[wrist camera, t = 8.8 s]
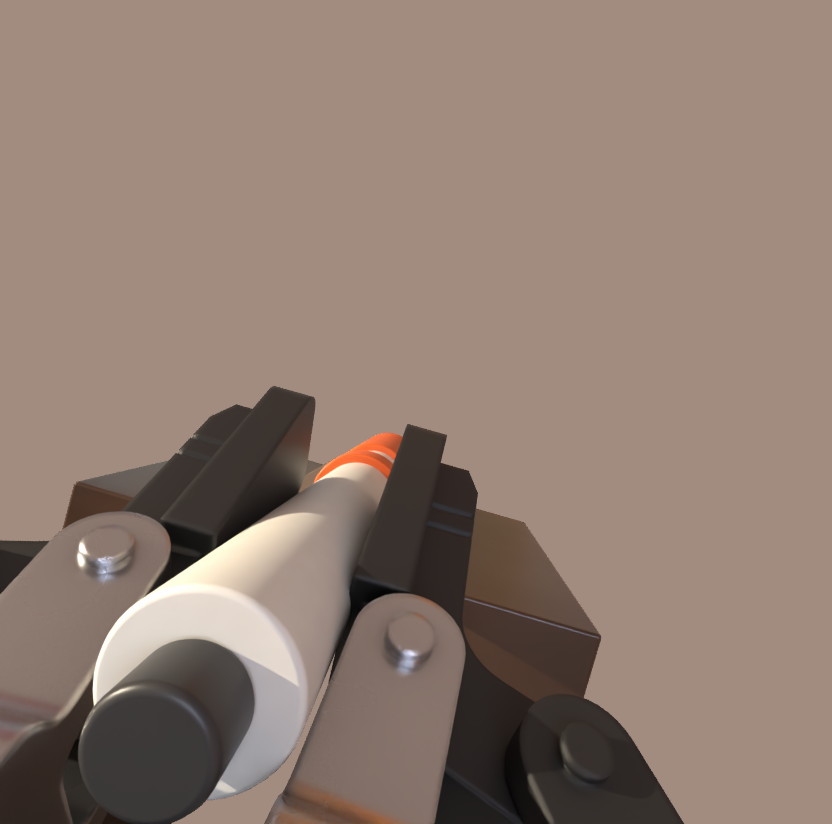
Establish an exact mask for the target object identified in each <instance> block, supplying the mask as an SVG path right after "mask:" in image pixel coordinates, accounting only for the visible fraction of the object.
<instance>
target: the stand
mask: <svg viewBox="0 0 832 824" xmlns="http://www.w3.org/2000/svg"><path fill="white" fill-rule="evenodd" d="M335 459H336V458H335ZM333 460H334V459H333ZM331 461H332V460H331ZM331 461H329V462H331ZM167 462H168V461H165V462H161V463H157V464H152V465H148V466H144V467H139V468H135V469H131V470H126V471H122V472H118V473H113V474H109V475H104V476H100V477H96V478H92V479H87V480H83V481H78V482H76V483H75V484H74V487H73V491H72V495H71V498H70V502H69V506H68V510H67V514H66V518H65V522H64V525H63V529H64V528H66V527H67V526H69V525H70V524H72V523H74V522H76V521H78V520H81V519H83V518H86V517H88V516H92V515H96V514H100V513H106V512H117V511H122V509H123V508H124V507H125V506H126V505H127V504H128V503H129V502H130V501H131V500H132V499H133V498H134V497H135V496H136V495H137V494H138V493H139V492H140V490H141V489H142V488H143V487H144V486H145V485H146V484H147V483H148V482H149V481H150V480H151V479H152V478H153V477H154V476H155V475H156V474H157V473H158V471H159V470H160V469H161V468H162V467H163V466H164V465H165V464H166V463H167ZM329 462H328V463H329ZM328 463H326V464H324V465H322V464H319V463H315V462H312V461H309V460H308V461H307V467H306V472H305V476H304V479H303V482H302V485H301V488H300V490H299V493H300V492H301V491H303V490H304V489H306V488H307V487H309V486H310V485H312V484H313V483H314V480H315V478H316V477H317V475H318V474H319V472H320V471H321V470H322V469H323V467H324V466H326V465H327V464H328ZM63 529H62V530H63ZM471 539H472V543H471V551H470V558H469V566H468V574H467V582H466V590H465V598H464V605H463V616H462V621H463V629H464V632H465V636H466V639H467V641H468V643H469V645H470V647H471V649H472V651H473V652H474V654H475V655H476V657H477V658H478V659H479V660H480V662H481V663H482V664H483V665H484V666H485V667H486V668H487V669H488V670H489V671H490V672H491V673H492V674H494V675H495V676H496V677H498V678H499V679H500V680H502V681H503V682H505V683H506V684H508V685H510V686H511V687H513V688H514V689H516V690H517V691H519V692H520V693H522V694H523V695H525V696H526V697H528V698H529V699H531V700H533V701H534V702H537V701H538V700H540V699H541V698H543V697H546V696H549V695H553V694H570V695H575V696H579V697H582V698H584V694H585V691H586V688H587V684H588V681H589V678H590V674H591V671H592V668H593V664H594V661H595V658H596V654H597V651H598V647H599V644H600V641H601V635H600V634H599V632H598V631H597V629H596V628H595V626H594V625H593V623H592V622H591V621H590V619H589V618H588V616H587V615H586V613H585V612H584V610H583V609H582V607H581V606H580V604H579V603H578V601H577V600H576V598H575V597H574V596H573V594H572V592H571V591H570V589H569V588H568V587H567V585H566V584H565V582H564V581H563V579H562V578H561V576H560V575H559V573H558V572H557V570H556V569H555V567H554V566H553V564H552V563H551V561H550V560H549V558H548V557H547V555H546V554H545V552H544V551H543V550H542V548H541V547H540V545H539V544H538V542H537V541H536V539H535V538H534V536H533V535H532V533H531V532H530V530H529V529H528V527H527V526H526V524H525V523H524V522H521V521H517V520H514V519H510V518H507V517H503V516H500V515H497V514H493V513H489V512H486V511H482V510H479V509H476V512H475V517H474V527H473V535H472V538H471ZM102 824H131V823H127V822H125V821H122V820H120V819H118V818H116V817H114V816H113V815H111V814H110V813H107V814H106V816H105V818H104V820H103V822H102ZM169 824H171V823H169Z"/></svg>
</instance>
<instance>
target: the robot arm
mask: <svg viewBox="0 0 832 824" xmlns="http://www.w3.org/2000/svg"><path fill="white" fill-rule="evenodd" d="M314 412H315V399H314V397H311V396H308V395H304V394H301V393H297V392H294V391H290V390H287V389H283V388H280V387H276V386H273V387H271V388H270V389H269V390H268V391H267V393H266V394H265V395H264V396H263V397H262V399H261V400H260V401H259V402H258V403H257V404H256V406H255V407H254V408H253V409H250V408H247V407H243V406H240V405H234V406H232V407H230V408H228V409H226V410H223V411H221V412H220V413H217V414H215V415H213V416H211V417H210V418H209V419H208V420H207V421H206V422H205V423H204V424H203V425H202V426H201V427H200V428H199V429H198V430H197V431H196V433H194V436H193V438H190V439H189V440H188V441H187V442H186V443H185V444H184V445H183V446H182V447H181V448H180V449H179V453H178V454H177V453H176V454H175V455H174V456H173V457H172V458H171V459H170V460H169V461H168V462H167V463H166V464H165V465H164V466H163V467H162V468H161V469H160V470H159V471H158V473H157V474H156V475H155V476H154V477H153V478H152V479H151V480H150V481H149V482H148V483H147V484H146V485H145V486H144V487H143V488H142V489H141V490H140V492H139V493H138V494H137V495H136V496H135V497H134V498H133V499H132V500H131V501H130V502H129V503H128V504H127V505H126V506H125V507H124V508H123V509H122V511H117V512H106V513H100V514H96V515H92V516H88V517H86V518H83V519H81V520H78V521H76V522H74V523H72V524H70V525H69V526H67V527H66V528H64V529H63V530H61V531H60V532H59V533H58V534H57V535H55V536H54V537H53V538H52V539H51V540H50V541H0V824H102V822H103V820H104V818H105V816H106V814H107V813H108V812H107V811H106V810H104V809H103V808H102V807H101V806H100V805H99V804H98V803H97V802H96V801H95V799H94V798H93V797H92V796H91V794H90V793H89V791H88V789H87V788H86V785H85V783H84V781H83V779H82V775H81V772H80V768H79V762H78V746H79V740H80V735H81V733H82V730H83V727H84V724H85V721H86V719H87V717H88V715H89V713H90V711H91V710H92V708H93V707H94V701H93V680H94V672H95V667H96V663H97V660H98V657H99V654H100V651H101V648H102V645H103V643H104V641H105V639H106V637H107V635H108V633H109V632H110V630H111V629H112V628H113V626H114V625H115V623H116V622H117V621H118V619H119V618H120V617H121V616H122V615H123V614H124V613H125V612H126V611H127V610H128V609H129V608H130V607H132V606H133V605H134V604H135V603H136V602H138V601H139V600H141V599H142V598H144V597H145V596H147V595H148V594H150V593H151V592H153V591H154V590H156V589H157V588H159V587H160V586H162V585H163V584H165V583H166V582H168V581H169V580H171V579H172V578H173V577H175V576H176V575H178V574H179V573H181V572H182V571H184V570H185V569H187V568H188V567H190V566H191V565H193V564H194V563H196V562H197V561H199V560H200V559H202V558H203V557H205V556H206V555H208V554H209V553H211V552H212V551H214V550H215V549H217V548H218V547H220V546H221V545H223V544H224V543H226V542H227V541H228V540H230V539H231V538H233V537H234V536H236V535H237V534H239V533H240V532H242V531H243V530H245V529H246V528H248V527H249V526H251V525H252V524H254V523H255V522H257V521H258V520H260V519H261V518H263V517H264V516H266V515H267V514H269V513H270V512H272V511H273V510H275V509H276V508H278V507H279V506H281V505H282V504H284V503H285V502H286V501H288V500H289V499H291V498H292V497H294V496H295V495H297V494H298V493H299V490H300V488H301V485H302V482H303V479H304V476H305V472H306V467H307V461H308V454H309V447H310V440H311V433H312V426H313V419H314ZM446 437H447V435H445V434H441V433H438V432H434V431H431V430H427V429H423V428H420V427H417V426H413V425H410V424H408V425H407V427H406V430H405V432H404V435H403V438H402V441H401V443H400V446H399V449H398V452H397V454H396V457H395V460H394V463H393V466H392V468H391V471H390V474H389V477H388V480H387V482H386V485H385V488H384V491H383V494H382V496H381V499H380V502H379V505H378V508H377V510H376V513H375V516H374V519H373V521H372V524H371V527H370V530H369V533H368V535H367V538H366V541H365V544H364V547H363V549H362V552H361V555H360V558H359V561H358V563H357V566H356V569H355V572H354V575H353V578H352V583H351V587H350V591H349V595H350V601H351V611H350V617H349V620H348V623H347V625H346V628H345V630H344V632H343V635H342V637H341V640H340V642H339V644H338V647H337V649H336V652H335V657H334V661H333V665H332V670H331V674H330V679H329V685H328V687H327V689H326V692H325V695H324V697H323V699H322V702H321V704H320V707H319V709H318V711H317V714H316V716H315V719H314V721H313V724H312V726H311V728H310V731H309V733H308V736H307V738H306V741H305V744H304V746H303V748H302V750H301V753H300V755H299V758H298V760H297V763H296V765H295V768H294V770H293V772H292V775H291V777H290V779H289V781H288V783H287V786H286V787H285V790H284V791H283V793H281V794H280V795H279V796H278V798H277V799H276V801H275V803H274V805H273V807H272V809H271V811H270V813H269V815H268V817H267V819H266V821H265V823H264V824H684V823H683V821H682V820H681V818H680V816H679V815H678V813H677V812H676V810H675V808H674V807H673V805H672V803H671V802H670V800H669V798H668V797H667V795H666V794H665V792H664V790H663V789H662V787H661V785H660V784H659V782H658V781H657V779H656V777H655V776H654V774H653V772H652V771H651V769H650V768H649V766H648V764H647V763H646V761H645V760H644V758H643V756H642V755H641V753H640V751H639V750H638V748H637V746H636V745H635V743H634V742H633V740H632V739H631V737H630V736H629V735H628V733H627V732H626V730H625V729H624V728H623V727H622V726H621V724H620V723H619V722H618V721H617V720H616V719H615V718H614V717H613V716H611V715H610V714H609V713H608V712H607V711H605V710H604V709H603V708H601V707H600V706H598V705H597V704H595V703H593V702H591V701H589V700H587V699H584V698H582V697H579V696H575V695H570V694H553V695H549V696H546V697H543V698H541V699H540V700H538V701H537V702H534V701H533V700H531V699H529V698H528V697H526V696H525V695H523V694H522V693H520V692H519V691H517V690H516V689H514V688H513V687H511V686H510V685H508V684H506V683H505V682H503V681H502V680H500V679H499V678H498V677H496V676H495V675H494V674H492V673H491V672H490V671H489V670H488V669H487V668H486V667H485V666H484V665H483V664H482V663H481V662H480V660H479V659H478V658H477V657H476V655H475V654H474V652H473V651H472V649H471V647H470V645H469V643H468V641H467V639H466V636H465V632H464V629H463V621H462V616H463V605H464V598H465V590H466V582H467V574H468V566H469V558H470V551H471V543H472V539H471V538H472V535H473V527H474V517H475V512H476V503H477V496H478V492H477V490H476V488H475V485H474V483H473V480H472V478H471V476H470V473H469V471H467V470H464V469H460V468H456V467H453V466H450V465H446V464H443V463H441V459H442V454H443V450H444V446H445V442H446Z"/></svg>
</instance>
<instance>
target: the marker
mask: <svg viewBox="0 0 832 824" xmlns="http://www.w3.org/2000/svg"><path fill="white" fill-rule="evenodd" d="M402 438H403V437H401V436H400V435H397V434H393V433H382V434H379V435H376V436H374V437H372V438H370V439H369V440H367V441H365V442H363V443H362V444H360V445H358V446H356V447H355V448H353V449H352V450H350V451H349V452H347V453H346V454H343V455H341V456H339V457H337V458H336V459H334V460H332V461H331V462H329V463H328V464H327V465H326V466H324V467H323V469H322V470H321V471H320V472H319V474H318V475H317V477H316V478H315V480H314V483H313V484H312V485H310V486H309V487H307V488H306V489H304V490H303V491H301V492H300V493H298V494H297V495H295V496H294V497H292V498H291V499H289V500H288V501H286V502H285V503H284V504H282V505H281V506H279V507H278V508H276V509H275V510H273V511H272V512H270V513H269V514H267V515H266V516H264V517H263V518H261V519H260V520H258V521H257V522H255V523H254V524H252V525H251V526H249V527H248V528H246V529H245V530H243V531H242V532H240V533H239V534H237V535H236V536H234V537H233V538H231V539H230V540H228V541H227V542H226V543H224V544H223V545H221V546H220V547H218V548H217V549H215V550H214V551H212V552H211V553H209V554H208V555H206V556H205V557H203V558H202V559H200V560H199V561H197V562H196V563H194V564H193V565H191V566H190V567H188V568H187V569H185V570H184V571H182V572H181V573H179V574H178V575H176V576H175V577H173V578H172V579H171V580H169V581H168V582H166V583H165V584H163V585H162V586H160V587H159V588H157V589H156V590H154V591H153V592H151V593H150V594H148V595H147V596H145V597H144V598H142V599H141V600H139V601H138V602H136V603H135V604H134V605H133V606H132V607H130V608H129V609H128V610H127V611H126V612H125V613H124V614H123V615H122V616H121V617H120V618H119V619H118V621H117V622H116V623H115V625H114V626H113V628H112V629H111V630H110V632H109V633H108V635H107V637H106V639H105V641H104V643H103V645H102V648H101V651H100V654H99V657H98V660H97V663H96V667H95V672H94V680H93V701H94V707H93V708H92V710H91V711H90V713H89V715H88V717H87V719H86V721H85V724H84V727H83V730H82V733H81V735H80V740H79V746H78V762H79V768H80V772H81V775H82V779H83V781H84V783H85V785H86V788H87V789H88V791H89V793H90V794H91V796H92V797H93V798H94V799H95V801H96V802H97V803H98V804H99V805H100V806H101V807H102V808H103V809H104V810H106V811H107V812H108V813H110V814H111V815H113V816H114V817H116V818H118V819H120V820H122V821H125V822H127V823H131V824H169V823H172V822H175V821H177V820H180V819H182V818H183V817H185V816H187V815H188V814H190V813H192V812H193V811H195V810H196V809H197V808H199V807H200V806H201V805H202V804H203V803H204V802H205V801H206V800H215V799H221V798H227V797H230V796H234V795H237V794H240V793H242V792H244V791H247V790H249V789H251V788H252V787H254V786H256V785H257V784H259V783H261V782H262V781H264V780H266V779H267V778H268V777H269V776H270V775H272V774H273V773H274V772H275V771H277V769H278V768H279V767H280V766H281V765H282V764H283V763H284V762H285V761H286V760H287V758H288V757H289V755H290V754H291V752H292V751H293V750H294V748H295V746H296V744H297V742H298V740H299V738H300V736H301V734H302V731H303V729H304V727H305V724H306V722H307V720H308V717H309V715H310V712H311V710H312V707H313V705H314V703H315V700H316V698H317V695H318V693H319V690H320V688H321V686H322V683H323V681H324V678H325V676H326V673H327V671H328V669H329V666H330V664H331V661H332V659H333V657H334V654H335V652H336V649H337V647H338V644H339V642H340V640H341V637H342V635H343V632H344V630H345V628H346V625H347V623H348V620H349V617H350V611H351V601H350V595H349V591H350V587H351V583H352V578H353V575H354V572H355V569H356V566H357V563H358V561H359V558H360V555H361V552H362V549H363V547H364V544H365V541H366V538H367V535H368V533H369V530H370V527H371V524H372V521H373V519H374V516H375V513H376V510H377V508H378V505H379V502H380V499H381V496H382V494H383V491H384V488H385V485H386V482H387V480H388V477H389V474H390V471H391V468H392V466H393V463H394V460H395V457H396V454H397V452H398V449H399V446H400V443H401V441H402Z"/></svg>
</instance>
